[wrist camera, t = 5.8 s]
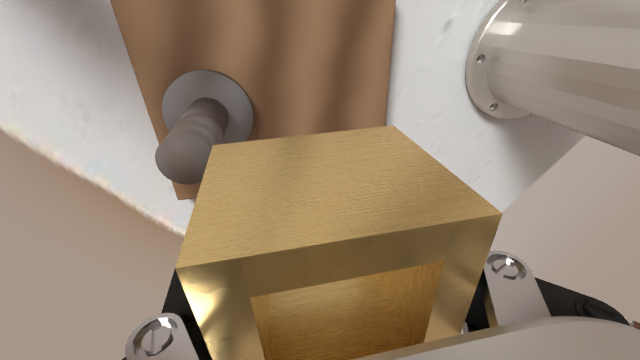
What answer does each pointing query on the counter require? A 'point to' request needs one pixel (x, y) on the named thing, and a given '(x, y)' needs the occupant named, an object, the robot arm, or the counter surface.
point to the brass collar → (331, 247)
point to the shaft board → (254, 72)
